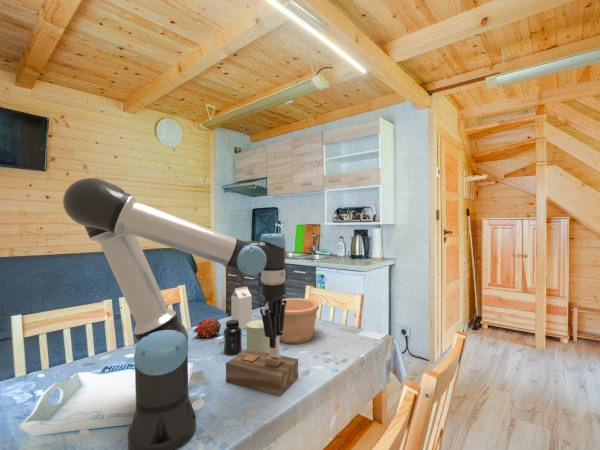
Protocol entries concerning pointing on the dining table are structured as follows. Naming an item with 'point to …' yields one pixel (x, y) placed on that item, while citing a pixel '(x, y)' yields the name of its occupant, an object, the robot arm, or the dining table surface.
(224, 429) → the dining table surface
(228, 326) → the supplement bottle
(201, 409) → the dining table surface
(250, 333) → the can
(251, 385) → the socket block
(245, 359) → the left pin
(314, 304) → the pottery
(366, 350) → the dining table surface
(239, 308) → the milk carton
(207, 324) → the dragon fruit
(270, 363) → the right pin
